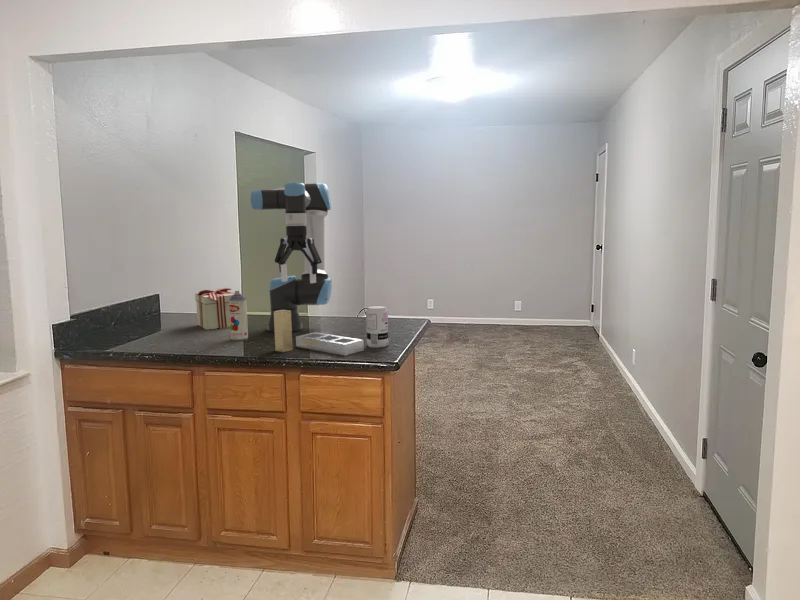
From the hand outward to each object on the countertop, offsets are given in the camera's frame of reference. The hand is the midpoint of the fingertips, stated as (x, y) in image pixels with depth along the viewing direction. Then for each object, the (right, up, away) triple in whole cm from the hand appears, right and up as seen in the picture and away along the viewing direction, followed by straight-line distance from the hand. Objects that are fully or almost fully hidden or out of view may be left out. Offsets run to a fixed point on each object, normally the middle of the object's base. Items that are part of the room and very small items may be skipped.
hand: (298, 282), depth 236 cm
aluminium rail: (+11, -25, +2) cm, 28 cm away
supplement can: (+29, -24, +6) cm, 39 cm away
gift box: (-44, -19, +52) cm, 71 cm away
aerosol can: (-28, -23, +22) cm, 42 cm away
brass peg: (-6, -26, +1) cm, 26 cm away
